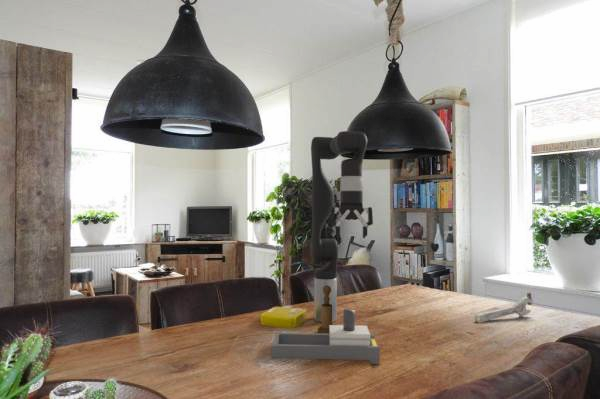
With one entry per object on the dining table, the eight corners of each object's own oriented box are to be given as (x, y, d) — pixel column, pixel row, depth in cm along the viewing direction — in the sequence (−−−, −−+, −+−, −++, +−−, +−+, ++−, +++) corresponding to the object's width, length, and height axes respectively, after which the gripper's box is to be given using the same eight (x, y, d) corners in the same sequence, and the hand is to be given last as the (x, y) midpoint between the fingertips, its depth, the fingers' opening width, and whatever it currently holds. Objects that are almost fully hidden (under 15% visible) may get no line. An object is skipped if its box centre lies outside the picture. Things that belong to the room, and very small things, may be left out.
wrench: (475, 328, 169) (530, 314, 179) (478, 329, 167) (534, 315, 177) (473, 309, 169) (529, 295, 178) (476, 310, 167) (532, 296, 177)
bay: (276, 348, 136) (276, 332, 136) (373, 349, 135) (373, 334, 135) (271, 362, 124) (272, 345, 124) (379, 364, 123) (379, 347, 123)
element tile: (274, 316, 177) (274, 304, 177) (307, 319, 172) (307, 308, 172) (258, 325, 163) (258, 313, 163) (294, 330, 158) (294, 317, 158)
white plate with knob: (329, 346, 134) (329, 306, 134) (366, 347, 134) (367, 306, 134) (329, 357, 125) (330, 313, 125) (370, 357, 124) (370, 314, 125)
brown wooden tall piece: (320, 339, 145) (320, 288, 146) (315, 333, 152) (315, 284, 152) (338, 337, 147) (338, 287, 147) (332, 332, 153) (332, 283, 154)
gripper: (371, 190, 144) (370, 237, 144) (330, 190, 145) (329, 236, 145) (374, 189, 137) (373, 238, 137) (330, 189, 137) (330, 238, 137)
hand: (351, 237), depth 141 cm, fingers open, 8 cm apart
